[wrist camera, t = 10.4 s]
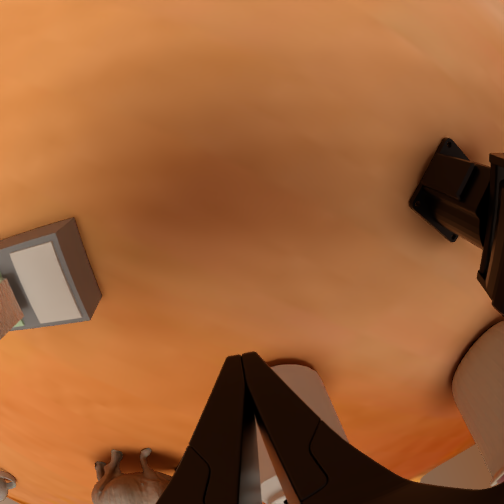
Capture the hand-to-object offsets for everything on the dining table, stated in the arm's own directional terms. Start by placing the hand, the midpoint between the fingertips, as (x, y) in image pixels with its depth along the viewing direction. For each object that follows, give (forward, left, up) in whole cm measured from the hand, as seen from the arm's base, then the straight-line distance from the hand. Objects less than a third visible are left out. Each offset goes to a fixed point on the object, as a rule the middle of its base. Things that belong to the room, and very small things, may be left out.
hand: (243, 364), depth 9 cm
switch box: (+11, +9, -12) cm, 19 cm away
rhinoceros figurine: (-5, +30, -12) cm, 33 cm away
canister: (-38, 0, -12) cm, 40 cm away
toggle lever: (+11, +9, -8) cm, 17 cm away
